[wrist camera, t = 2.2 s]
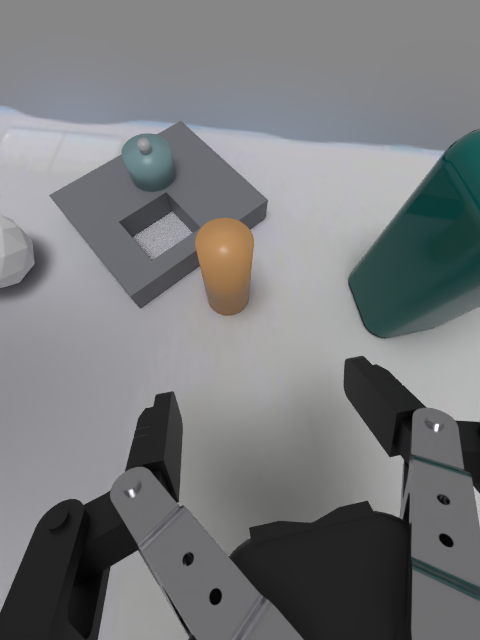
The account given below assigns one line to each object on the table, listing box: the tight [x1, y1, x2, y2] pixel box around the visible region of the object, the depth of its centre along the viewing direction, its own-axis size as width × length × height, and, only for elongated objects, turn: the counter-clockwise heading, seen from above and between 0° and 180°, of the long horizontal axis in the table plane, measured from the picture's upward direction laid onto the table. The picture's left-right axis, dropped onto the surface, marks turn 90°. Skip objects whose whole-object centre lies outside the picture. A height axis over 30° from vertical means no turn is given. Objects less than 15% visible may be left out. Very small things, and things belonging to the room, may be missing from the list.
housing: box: [49, 121, 268, 308], centre depth 31 cm, size 18×16×7 cm
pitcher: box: [349, 129, 480, 338], centre depth 20 cm, size 10×8×22 cm
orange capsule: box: [195, 218, 254, 315], centre depth 26 cm, size 4×4×10 cm
